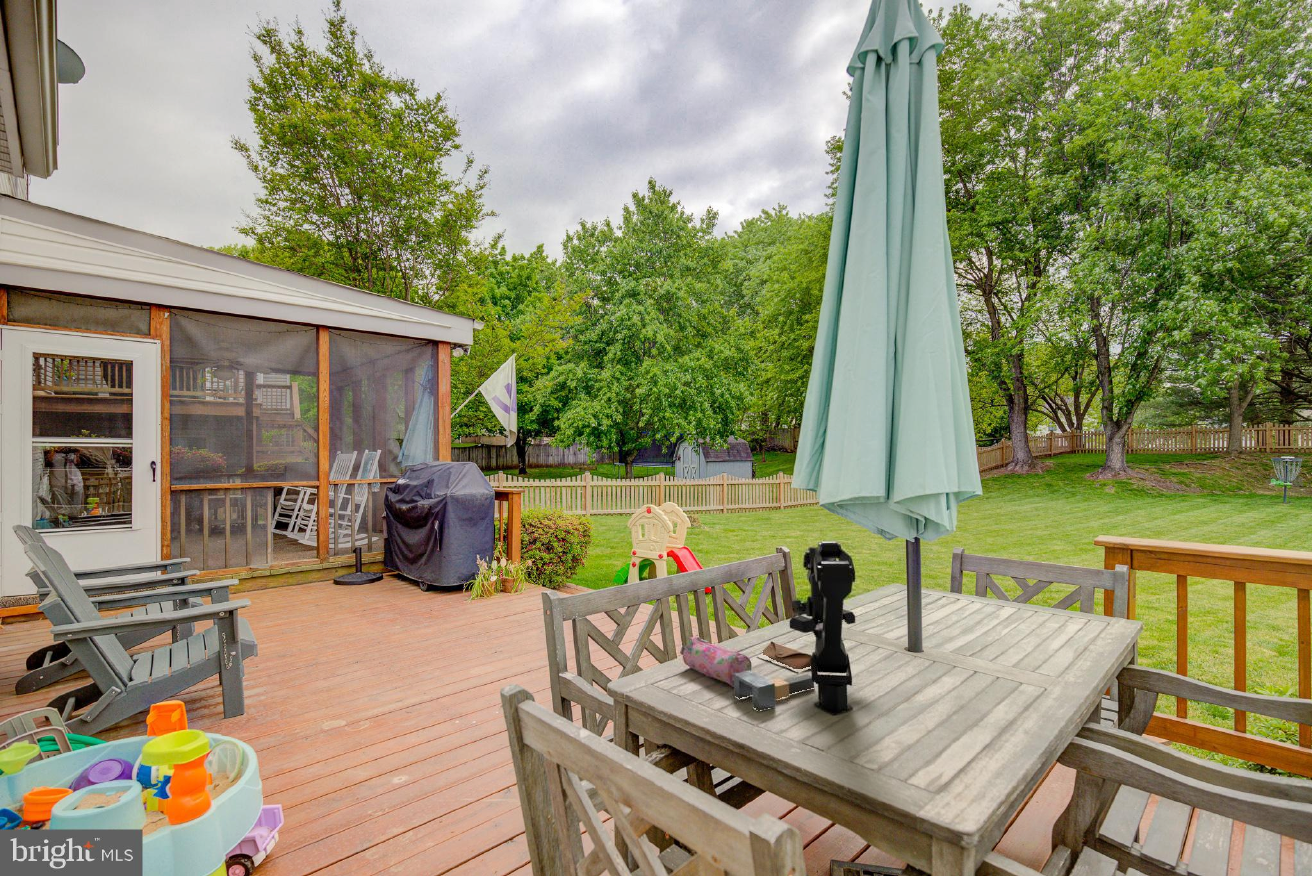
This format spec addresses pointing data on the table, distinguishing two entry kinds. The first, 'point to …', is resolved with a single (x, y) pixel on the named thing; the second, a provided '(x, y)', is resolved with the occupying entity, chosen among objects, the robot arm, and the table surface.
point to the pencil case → (714, 660)
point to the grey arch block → (755, 689)
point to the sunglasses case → (787, 656)
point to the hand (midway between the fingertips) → (823, 652)
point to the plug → (792, 685)
